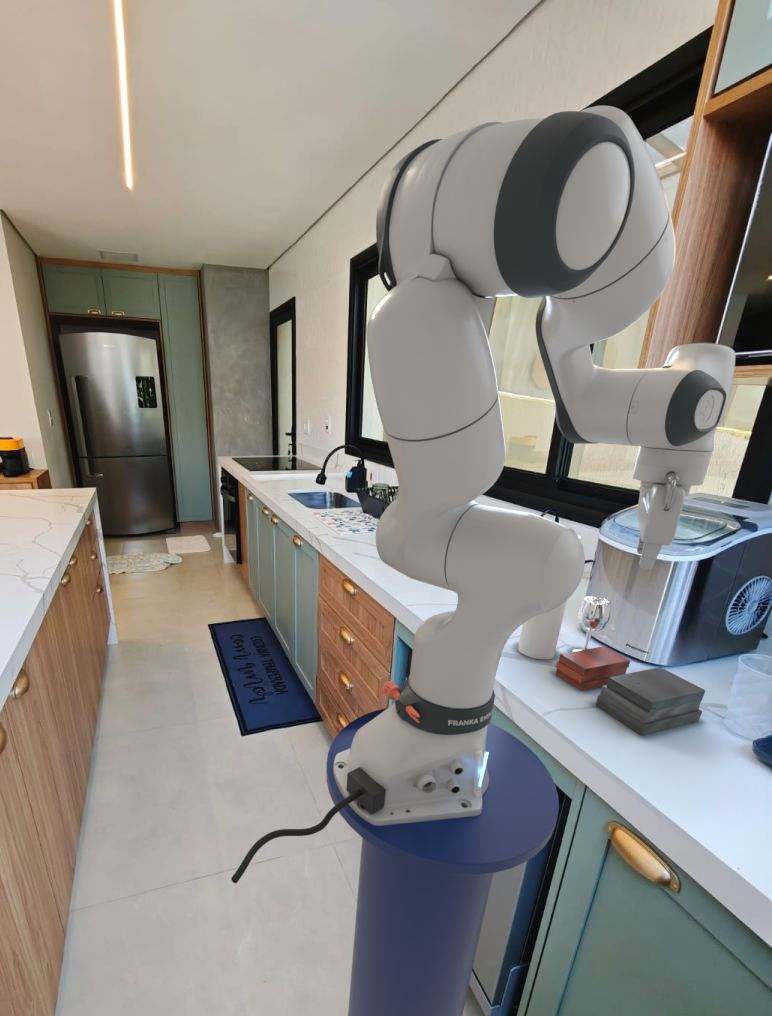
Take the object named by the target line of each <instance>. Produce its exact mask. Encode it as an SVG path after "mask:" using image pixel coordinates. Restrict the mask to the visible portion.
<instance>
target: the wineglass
mask: <svg viewBox="0 0 772 1016" xmlns="http://www.w3.org/2000/svg"><path fill="white" fill-rule="evenodd" d="M611 603H612V602H611V601H610V600H608V599H607V598H603V597H599V596H585V597H584V599H583V601H582V602H581V604H580V607H579V608H578V612H577V622H578V624H579V626H580V627H582V628H583V629H585V630H587V632H586V633H585V637H586V639H585V644H584V647H583V648H574V649H572V651H571V652H574V651H580V650H586V649H588V645H589V642H590V639H591V638H592V636H593V632H598V631H602V630H604V629H605V628H606V627H607V626H608V625H609V623H610V620H611V615H612V614H611V613H612V607H611V606H612V604H611Z"/></svg>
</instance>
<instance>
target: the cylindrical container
mask: <svg viewBox="0 0 772 1016" xmlns="http://www.w3.org/2000/svg"><path fill="white" fill-rule="evenodd" d="M577 535H578V537H579V539H580V541H581V542H582V536H581V535H580V534H577ZM567 602H568V600H566V601H565V602H564V603H563V604H561V605H560V606H558V607H557V608H555V609H553V610H551V611H548V612H545V613H542V614H539V615H537V616H535V617H533V618H531V619H529V620H527V621H526V622H524V623H523V624H522V625H521V629H520V630H521V631H520V636H519V642H518V646H517V650H518V651H519V652H520V653H521V654H522V655H524V656H526V657H529V658H532V659H536V660H550V659H553V658H554V657H555V654H556V650H557V645H558V641H559V637H560V634H561V633H560V632H561V628H562V624H563V620H564V616H565V611H566V606H567Z"/></svg>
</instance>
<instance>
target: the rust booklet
mask: <svg viewBox="0 0 772 1016" xmlns="http://www.w3.org/2000/svg"><path fill="white" fill-rule="evenodd" d="M558 661H560V662H562V663H563V664H565V665H566V666H568V667H570V668H571V669H573V670H574V671H576V672H578V673H579V674H581V675H583V676H586V675H591V674H597V673H602V672H607V671H612V670H617V669H622V668H627V669H628V668H629V667H630V664H631V660H630V659H629V658H627V657H625V656H623V655H621V654H619V653H618V652H616V651H613V650H612V649H610V648H608V647H606V646H605V645H604V646H598V647H592V648H587V649H586V650H580V651H574V652H572V651H569V652H563V653H560V654H559V657H558Z"/></svg>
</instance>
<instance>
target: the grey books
mask: <svg viewBox="0 0 772 1016" xmlns="http://www.w3.org/2000/svg"><path fill="white" fill-rule="evenodd" d="M600 689H601V690H600V693H599V695H597V698H596V701H595V706H596V707H597V708H599V709H600V710H602V711H603V712H605V713H606V714H608V715H610V717H613V718H614V719H616V720H617V721H618V722H620V723H622V724H623V725H625V726H626V727H628V728H629V729H630V730H632V731H634V732H635V733H636V734H638V735H639V736H641V737H643V736H647V735H651V734H654V733H659V732H663V731H666V730H670V729H673V728H679V727H682V726H685V725H690V724H693V723H696V722H697V723H698V722H700V719H701V717H702V713H703V710H702V709H700V706H701V703H702V700H703V698H704V696H705V693H706V690H705V689H704V688H702V687H700V686H698V685H696V684H694V683H692V682H690V681H688V680H686V679H684V678H682V677H680V676H679V675H676V674H675V673H673V672H671V671H669V670H667V669H665V668H663V667H661V666H658V667H653V668H648V669H643V670H637V671H634V672H629V673H626V674H623V675H618V676H613V677H609V680H608V683H607V685H604V686H602V687H601V688H600Z"/></svg>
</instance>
